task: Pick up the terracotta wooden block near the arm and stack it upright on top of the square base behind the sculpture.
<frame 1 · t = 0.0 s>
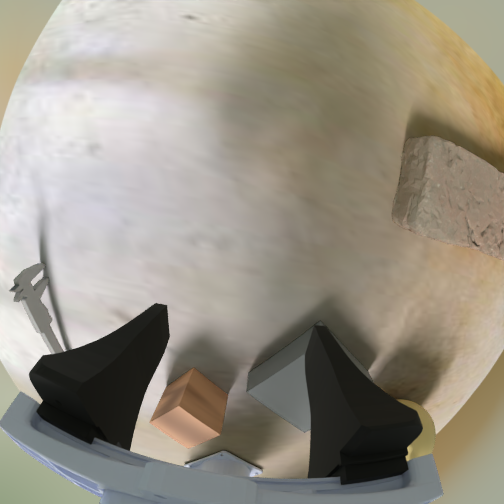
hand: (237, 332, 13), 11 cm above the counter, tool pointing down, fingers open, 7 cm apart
base: (311, 374, 25), on the counter
caliper: (65, 338, 27), on the counter
brick: (459, 202, 21), on the counter
sculpture: (376, 418, 27), on the counter
block: (196, 390, 27), on the counter
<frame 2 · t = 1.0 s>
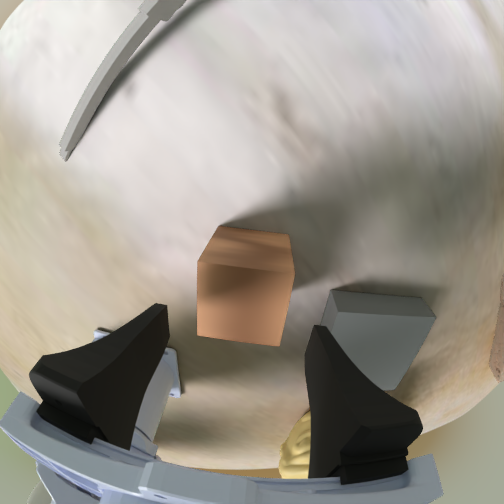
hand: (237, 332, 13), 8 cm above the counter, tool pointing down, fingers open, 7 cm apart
blender: (102, 420, 34), on the counter
base: (364, 336, 22), on the counter
caliper: (138, 58, 15), on the counter
sculpture: (331, 414, 28), on the counter
block: (250, 261, 20), on the counter
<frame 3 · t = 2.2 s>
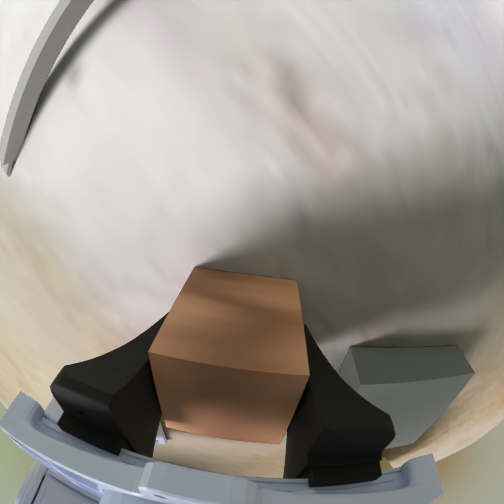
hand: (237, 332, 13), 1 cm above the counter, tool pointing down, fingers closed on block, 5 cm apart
base: (384, 391, 16), on the counter
caliper: (88, 35, 9), on the counter
block: (240, 315, 14), on the counter, touching gripper
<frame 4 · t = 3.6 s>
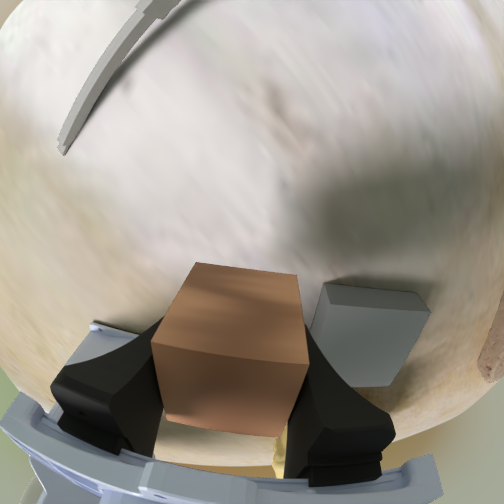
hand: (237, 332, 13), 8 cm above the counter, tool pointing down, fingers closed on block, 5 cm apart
blender: (99, 415, 35), on the counter
base: (358, 331, 22), on the counter
caliper: (135, 56, 15), on the counter
sculpture: (326, 411, 28), on the counter
block: (241, 310, 14), point 7 cm above the counter, touching gripper
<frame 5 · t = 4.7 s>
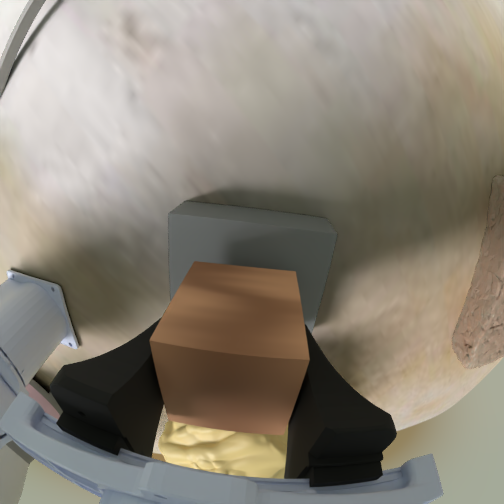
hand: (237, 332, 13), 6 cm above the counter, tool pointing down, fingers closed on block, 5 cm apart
blender: (40, 386, 31), on the counter
base: (248, 273, 18), on the counter
caliper: (42, 25, 11), on the counter
brick: (496, 265, 17), on the counter
sculpture: (245, 393, 24), on the counter
block: (241, 308, 14), point 4 cm above the counter, touching gripper
when the fingers open (6 cm above the counter, at t = 5.2 s): block drops 1 cm, resting on base.
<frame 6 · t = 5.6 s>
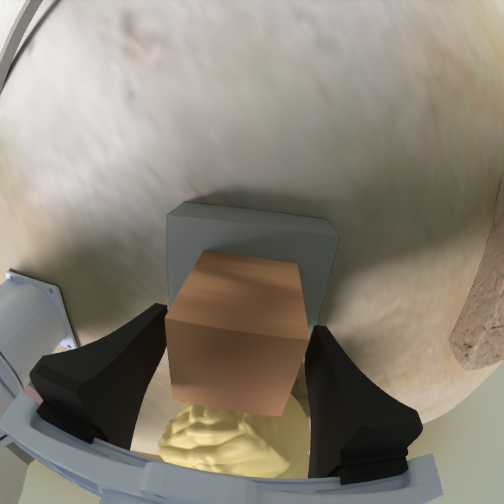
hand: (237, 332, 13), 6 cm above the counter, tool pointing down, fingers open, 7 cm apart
blender: (39, 387, 30), on the counter
base: (248, 275, 18), on the counter
caliper: (40, 24, 11), on the counter
brick: (498, 267, 17), on the counter
sculpture: (245, 395, 24), on the counter
block: (244, 296, 15), point 3 cm above the counter, touching base
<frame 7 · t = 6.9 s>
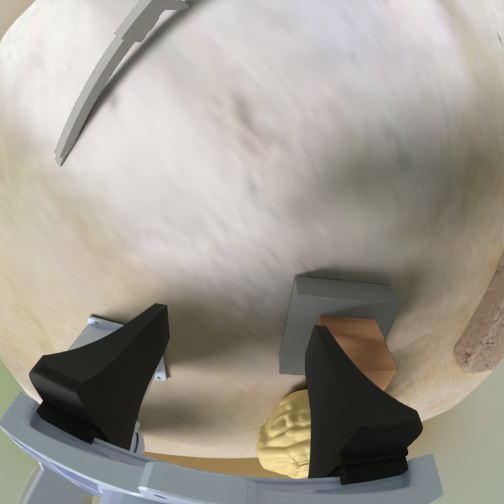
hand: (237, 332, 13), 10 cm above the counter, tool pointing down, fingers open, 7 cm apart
blender: (98, 408, 37), on the counter
base: (333, 321, 25), on the counter
caliper: (119, 75, 17), on the counter
brick: (494, 300, 23), on the counter
sculpture: (311, 401, 30), on the counter
block: (339, 340, 22), point 3 cm above the counter, touching base
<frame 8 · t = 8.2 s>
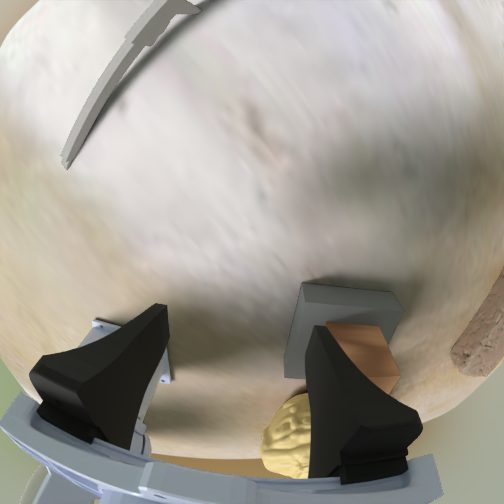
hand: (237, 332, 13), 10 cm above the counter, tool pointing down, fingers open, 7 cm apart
blender: (100, 409, 37), on the counter
base: (337, 327, 25), on the counter
caliper: (128, 79, 18), on the counter
brick: (493, 306, 24), on the counter
sculpture: (313, 404, 30), on the counter
block: (344, 346, 22), point 3 cm above the counter, touching base
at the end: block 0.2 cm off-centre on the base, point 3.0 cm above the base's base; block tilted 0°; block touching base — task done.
